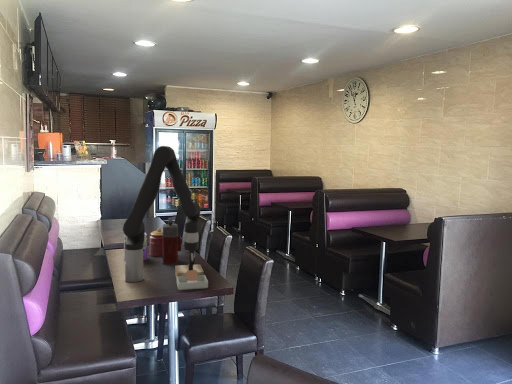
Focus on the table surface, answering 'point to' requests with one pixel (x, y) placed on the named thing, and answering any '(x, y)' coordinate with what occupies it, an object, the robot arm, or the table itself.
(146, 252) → the candy box
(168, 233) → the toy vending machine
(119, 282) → the table surface
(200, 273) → the birch board
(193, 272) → the terracotta tile
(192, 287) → the grey tray
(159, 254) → the canister
